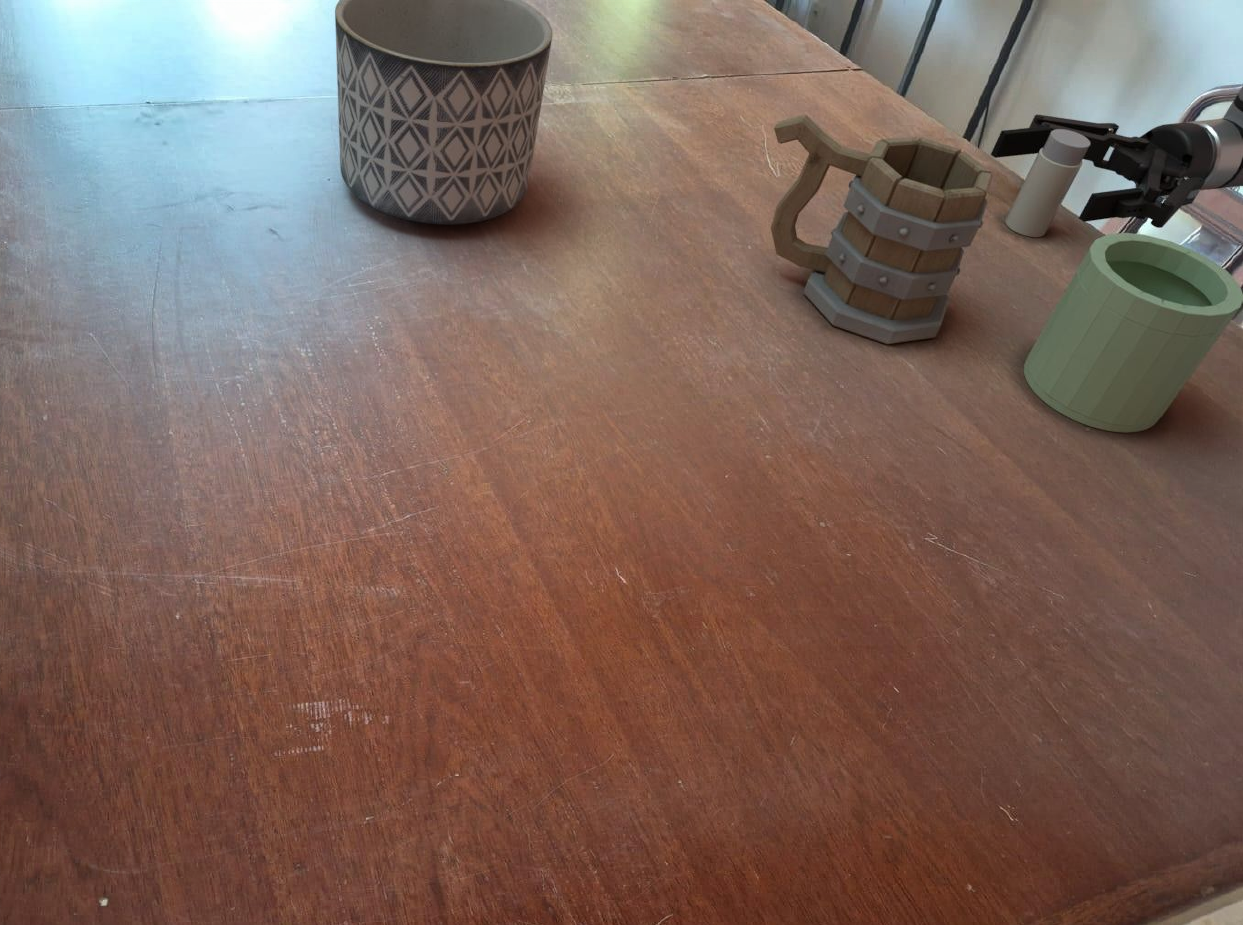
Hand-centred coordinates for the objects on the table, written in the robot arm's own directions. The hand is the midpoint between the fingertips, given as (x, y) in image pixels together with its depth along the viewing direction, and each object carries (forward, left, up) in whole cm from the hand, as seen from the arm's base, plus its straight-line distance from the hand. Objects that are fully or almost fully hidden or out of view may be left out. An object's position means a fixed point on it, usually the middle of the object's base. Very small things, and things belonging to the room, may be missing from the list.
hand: (1041, 174), depth 110 cm
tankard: (+24, +17, -6) cm, 30 cm away
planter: (+63, +6, -6) cm, 63 cm away
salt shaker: (-1, 0, -6) cm, 6 cm away
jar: (+3, +29, -6) cm, 29 cm away
